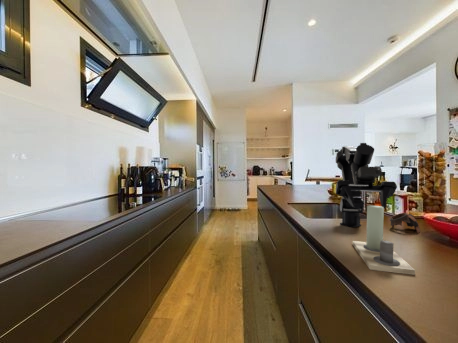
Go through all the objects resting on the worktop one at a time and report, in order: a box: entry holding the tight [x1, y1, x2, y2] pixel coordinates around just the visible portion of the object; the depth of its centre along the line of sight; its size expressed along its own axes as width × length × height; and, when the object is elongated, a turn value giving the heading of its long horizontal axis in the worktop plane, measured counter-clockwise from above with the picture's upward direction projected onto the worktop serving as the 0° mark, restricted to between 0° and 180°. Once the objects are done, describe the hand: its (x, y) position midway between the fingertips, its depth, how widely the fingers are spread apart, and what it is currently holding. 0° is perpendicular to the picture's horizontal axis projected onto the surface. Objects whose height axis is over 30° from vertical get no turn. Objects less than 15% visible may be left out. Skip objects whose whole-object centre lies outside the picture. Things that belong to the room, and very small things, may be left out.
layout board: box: [351, 240, 416, 276], centre depth 68 cm, size 20×10×6 cm, turn 163°
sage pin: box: [365, 205, 385, 250], centre depth 72 cm, size 4×4×13 cm
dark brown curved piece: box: [389, 212, 421, 234], centre depth 99 cm, size 12×10×8 cm
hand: (368, 207), depth 78 cm, fingers open, 9 cm apart
